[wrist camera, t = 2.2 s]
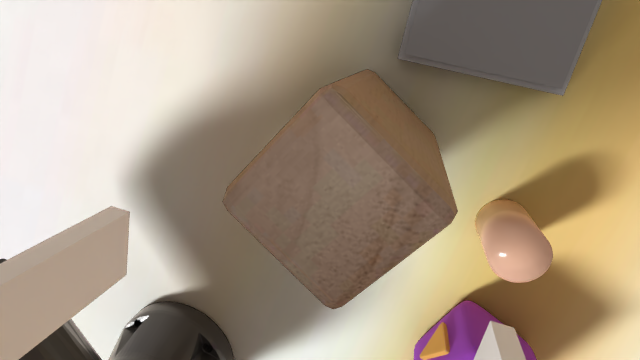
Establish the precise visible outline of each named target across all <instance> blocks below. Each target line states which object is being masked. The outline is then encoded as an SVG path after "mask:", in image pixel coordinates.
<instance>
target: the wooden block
mask: <svg viewBox="0 0 640 360" xmlns="http://www.w3.org/2000/svg"><path fill="white" fill-rule="evenodd" d="M223 203H224V205H225V207H226V209H227V211H228V212H229V213H230V214H231V215H232V216H234V217H235V218H236V219H237V220H238V221H239V222H240V223H241V224H242V225H243V226H244V227H245V228H246V229H247V230H248V231H249V232H250V233H251V234H252V235H253V236H254V237H255V238H256V239H257V240H258V241H259V242H260V243H261V244H262V245H263V246H264V247H265V248H266V249H267V250H268V251H269V252H270V253H271V254H273V255H274V256H275V257H276V258H277V259H278V260H279V261H280V262H281V263H282V264H283V265H284V266H285V267H286V268H287V269H288V270H289V271H290V272H291V273H292V274H293V275H294V276H295V277H296V278H297V279H298V280H299V281H300V282H301V283H302V284H303V285H304V286H305V287H306V288H307V289H308V290H309V291H310V292H311V293H313V294H314V295H315V296H316V297H317V298H318V299H319V300H320V301H321V302H322V303H323V304H324V305H325V306H327V307H329V308H331V309H336V308H339V307H342V306H343V305H345V304H346V303H347V302H349V301H350V300H351V299H353V298H354V297H355V296H357V295H358V294H359V293H361V292H362V291H363V290H364V289H366V288H367V287H368V286H370V285H371V284H372V283H374V282H375V281H376V280H378V279H379V278H380V277H381V276H383V275H384V274H385V273H387V272H388V271H389V270H391V269H392V268H393V267H395V266H396V265H397V264H398V263H400V262H401V261H402V260H404V259H405V258H406V257H408V256H409V255H410V254H412V253H413V252H414V251H415V250H417V249H418V248H419V247H421V246H422V245H423V244H425V243H426V242H427V241H429V240H430V239H431V238H432V237H434V236H435V235H436V234H438V233H439V232H440V231H442V230H443V229H444V228H446V227H447V226H448V225H449V224H451V222H452V221H453V219H454V217H455V215H456V214H457V212H458V210H457V207H456V204H455V200H454V197H453V194H452V190H451V187H450V184H449V180H448V177H447V174H446V171H445V167H444V164H443V161H442V157H441V154H440V151H439V148H438V144H437V141H436V138H435V136H434V134H433V133H432V132H431V130H430V129H429V128H428V127H427V126H426V125H425V124H424V123H423V122H422V121H421V120H420V119H419V118H418V117H417V116H416V115H415V114H414V113H413V112H412V111H411V110H410V109H409V108H408V107H407V105H406V104H405V103H404V102H403V101H402V100H401V99H400V98H399V97H398V96H397V95H396V94H395V93H394V92H393V91H392V90H391V89H390V88H389V87H388V86H387V85H386V84H385V83H384V82H383V80H382V79H381V78H380V77H379V76H378V75H377V74H376V73H375V72H373V71H370V70H368V69H366V70H364V71H361V72H359V73H356V74H354V75H351V76H349V77H346V78H344V79H341V80H339V81H336V82H334V83H332V84H329V85H327V86H325V87H322V88H320V89H319V90H318V91H317V92H316V93H315V94H314V95H313V96H312V97H311V99H310V100H309V101H308V102H307V103H306V104H305V105H304V106H303V107H302V108H301V109H300V110H299V111H298V112H297V113H296V114H295V116H294V117H293V118H292V119H291V120H290V121H289V122H288V123H287V124H286V125H285V126H284V127H283V128H282V129H281V130H280V131H279V133H278V134H277V135H276V136H275V137H274V138H273V139H272V140H271V141H270V142H269V143H268V144H267V145H266V146H265V147H264V149H263V150H262V151H261V152H260V153H259V154H258V155H257V156H256V157H255V158H254V159H253V160H252V161H251V162H250V163H249V164H248V166H247V167H246V168H245V169H244V170H243V171H242V172H241V173H240V174H239V175H238V176H237V177H236V178H235V179H234V180H233V182H232V183H231V184H230V185H229V186H228V187H227V190H226V193H225V196H224V199H223Z"/></svg>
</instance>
